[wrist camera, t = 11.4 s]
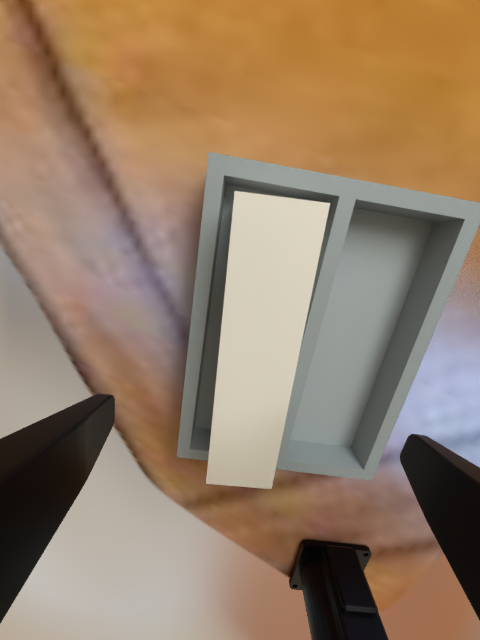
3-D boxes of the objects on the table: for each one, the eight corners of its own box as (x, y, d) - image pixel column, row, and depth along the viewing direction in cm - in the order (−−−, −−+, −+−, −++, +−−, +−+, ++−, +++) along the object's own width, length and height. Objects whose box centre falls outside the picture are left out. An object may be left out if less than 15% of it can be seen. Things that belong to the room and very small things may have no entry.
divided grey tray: (352, 446, 20) (371, 480, 17) (185, 424, 19) (176, 457, 16) (439, 211, 15) (488, 204, 12) (214, 170, 14) (208, 151, 11)
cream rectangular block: (262, 423, 18) (271, 489, 13) (214, 419, 18) (206, 483, 13) (298, 216, 14) (330, 203, 9) (235, 208, 14) (234, 190, 9)
